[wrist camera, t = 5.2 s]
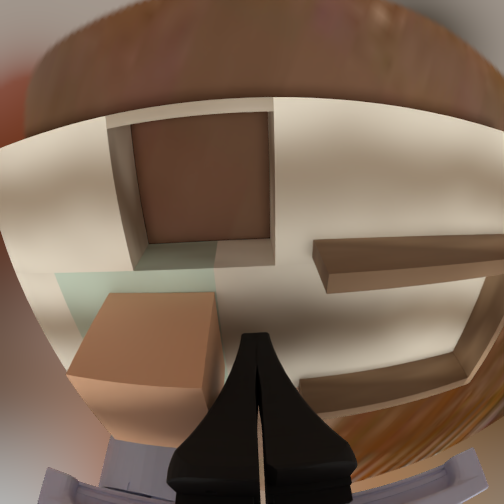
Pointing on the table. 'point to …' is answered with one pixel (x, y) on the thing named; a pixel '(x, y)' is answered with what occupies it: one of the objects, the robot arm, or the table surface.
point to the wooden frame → (405, 275)
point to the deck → (281, 229)
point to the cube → (151, 365)
